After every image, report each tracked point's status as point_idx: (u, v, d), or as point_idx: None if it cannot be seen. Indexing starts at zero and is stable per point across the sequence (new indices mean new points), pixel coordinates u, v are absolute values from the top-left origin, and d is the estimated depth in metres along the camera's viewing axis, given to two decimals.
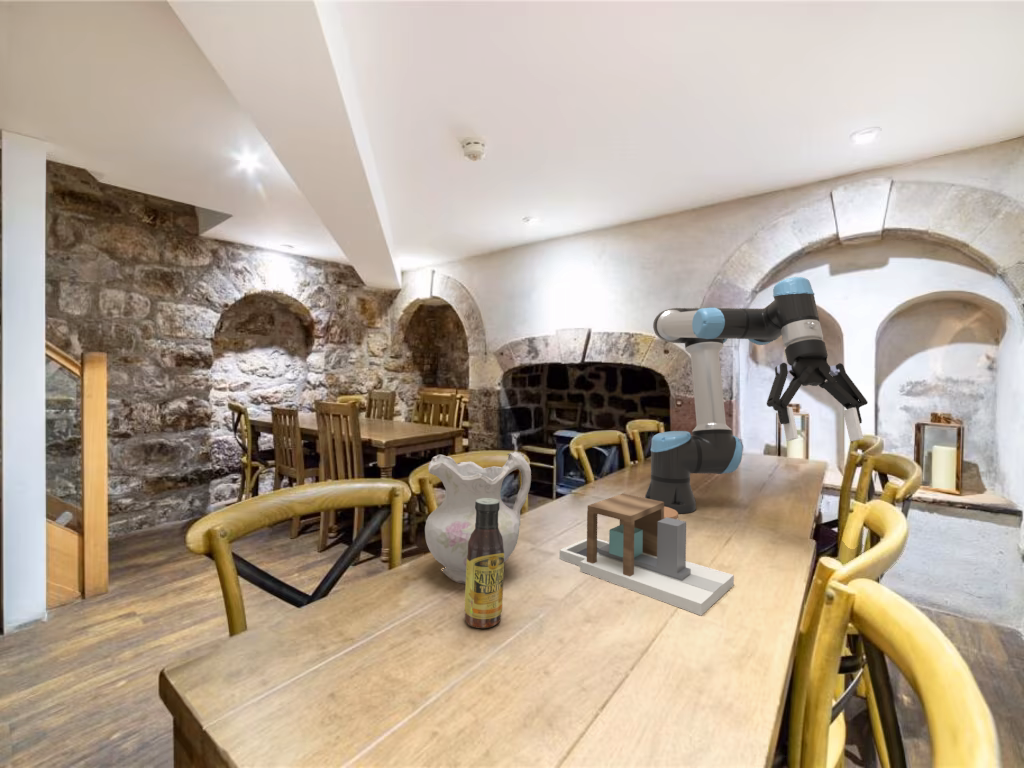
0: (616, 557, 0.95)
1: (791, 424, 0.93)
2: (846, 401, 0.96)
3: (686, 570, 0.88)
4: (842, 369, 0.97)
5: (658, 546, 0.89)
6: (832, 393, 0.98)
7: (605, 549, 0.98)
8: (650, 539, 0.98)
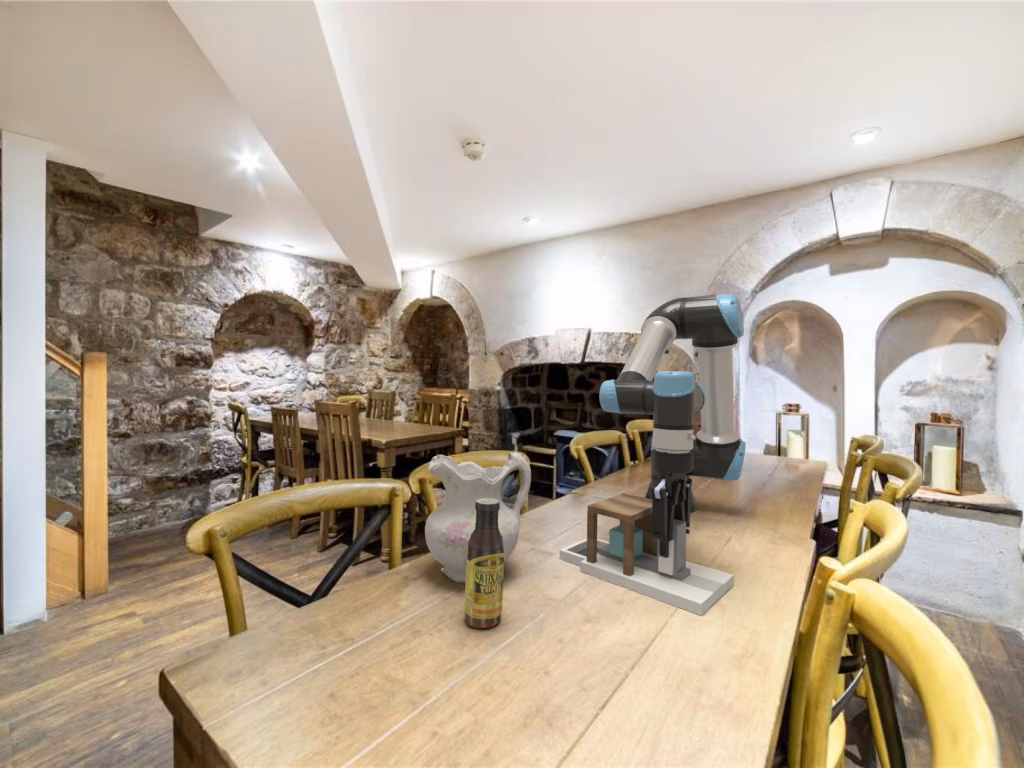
0: (616, 557, 0.95)
1: (670, 559, 0.86)
2: None
3: (686, 570, 0.88)
4: (690, 485, 0.92)
5: (658, 546, 0.89)
6: None
7: (605, 549, 0.98)
8: (650, 539, 0.98)
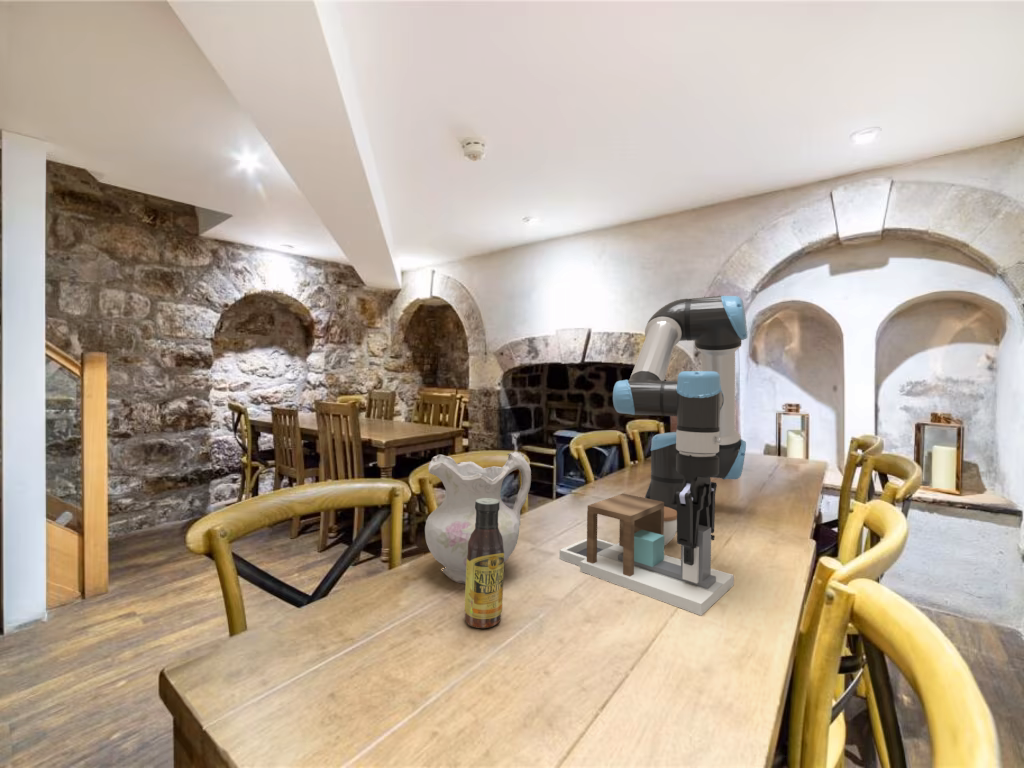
0: (637, 564, 0.92)
1: (696, 567, 0.83)
2: None
3: (711, 578, 0.84)
4: (715, 489, 0.89)
5: (682, 553, 0.86)
6: None
7: None
8: None
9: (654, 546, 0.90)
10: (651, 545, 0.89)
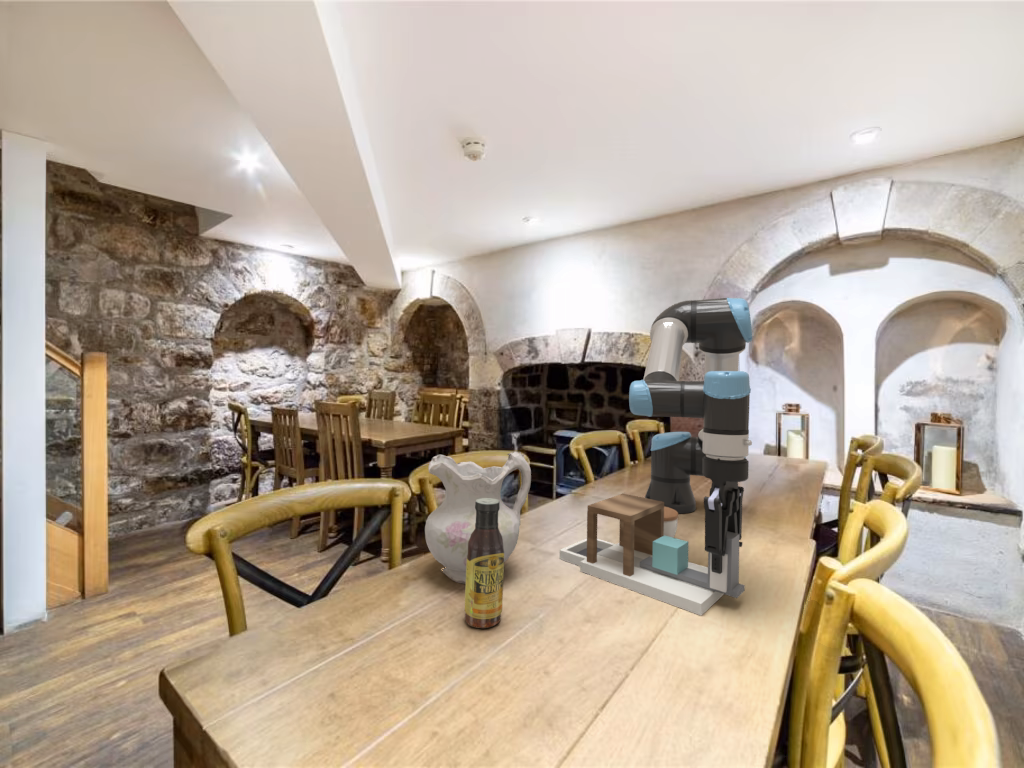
0: (660, 571, 0.89)
1: (724, 575, 0.80)
2: None
3: (740, 587, 0.81)
4: (742, 494, 0.86)
5: (709, 560, 0.82)
6: None
7: (647, 562, 0.91)
8: (650, 539, 0.98)
9: (679, 553, 0.86)
10: (676, 552, 0.86)
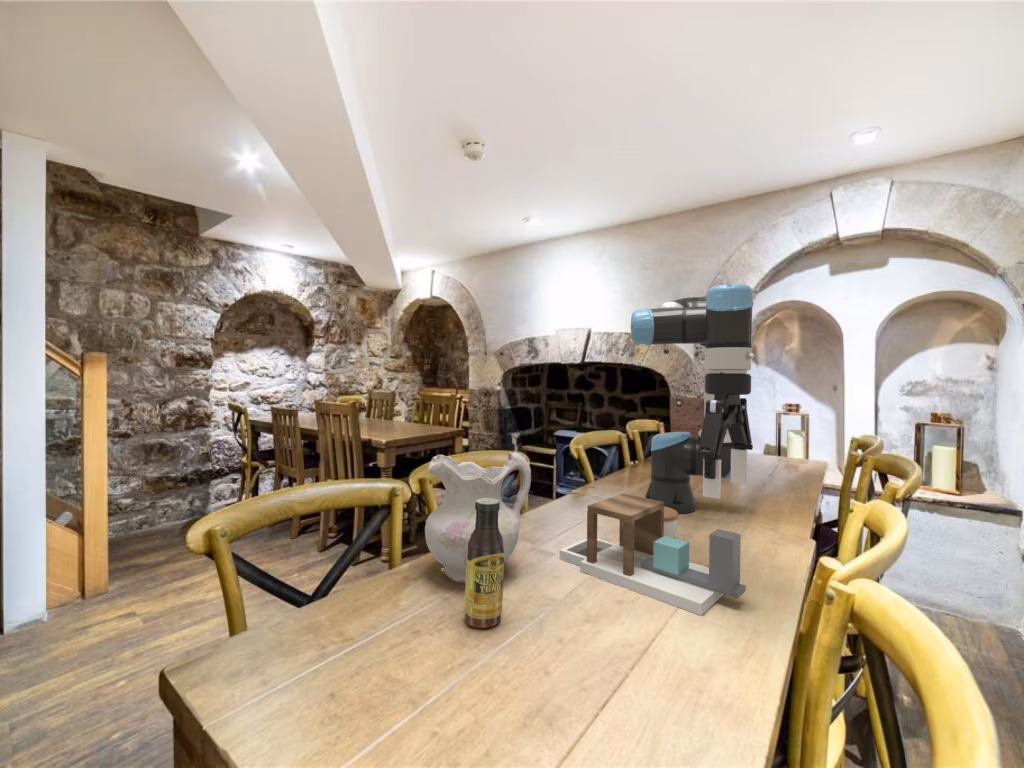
0: (661, 571, 0.88)
1: (718, 481, 0.76)
2: (740, 442, 0.86)
3: (741, 587, 0.81)
4: (746, 405, 0.86)
5: (710, 561, 0.82)
6: (731, 431, 0.85)
7: (648, 562, 0.91)
8: (650, 539, 0.98)
9: (680, 553, 0.86)
10: (677, 552, 0.86)
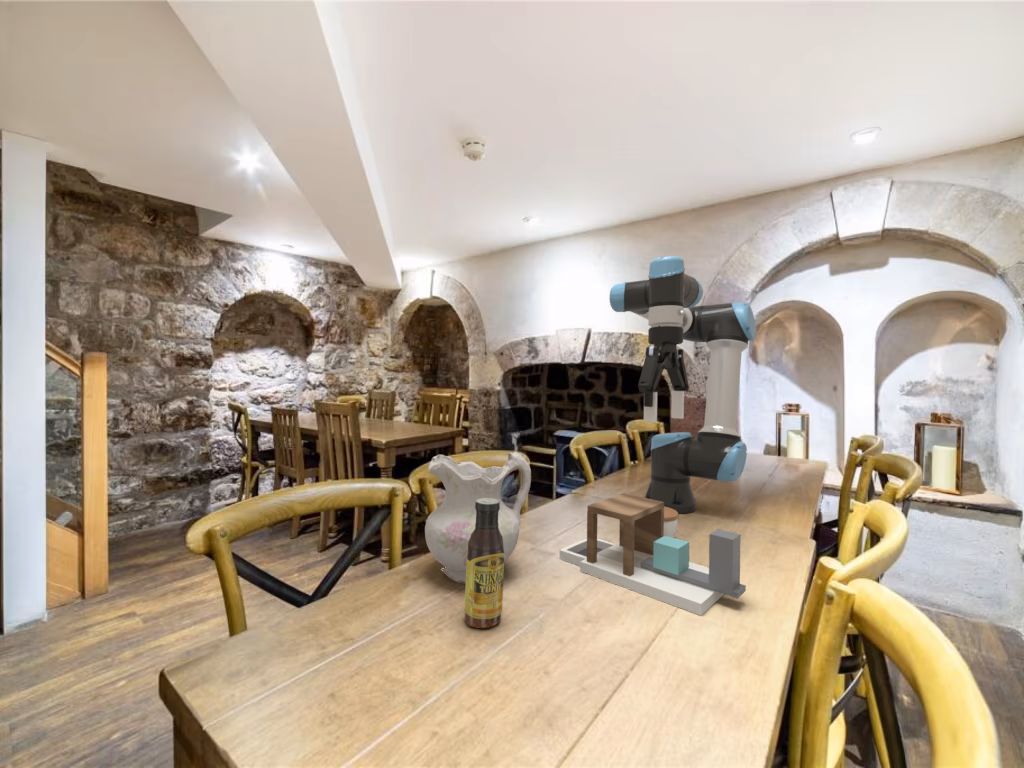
0: (661, 571, 0.88)
1: (654, 409, 0.98)
2: (678, 384, 1.08)
3: (741, 587, 0.81)
4: (682, 354, 1.07)
5: (710, 561, 0.82)
6: (671, 375, 1.07)
7: (648, 562, 0.91)
8: (650, 539, 0.98)
9: (680, 553, 0.86)
10: (677, 552, 0.86)
